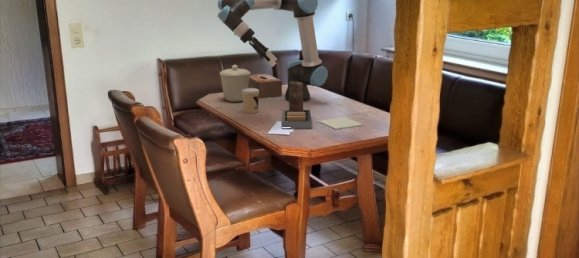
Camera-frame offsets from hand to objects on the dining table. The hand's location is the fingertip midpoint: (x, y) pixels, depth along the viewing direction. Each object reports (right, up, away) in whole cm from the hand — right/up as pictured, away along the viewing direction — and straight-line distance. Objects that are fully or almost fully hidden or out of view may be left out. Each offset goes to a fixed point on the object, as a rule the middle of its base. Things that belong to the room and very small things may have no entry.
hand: (274, 63), depth 281 cm
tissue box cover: (-9, -11, +70) cm, 71 cm away
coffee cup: (-14, -24, +25) cm, 37 cm away
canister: (-25, -16, +51) cm, 59 cm away
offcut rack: (+11, -30, +3) cm, 32 cm away
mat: (+33, -30, 0) cm, 45 cm away
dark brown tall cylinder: (+11, -28, +8) cm, 32 cm away
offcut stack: (+11, -31, -3) cm, 33 cm away
